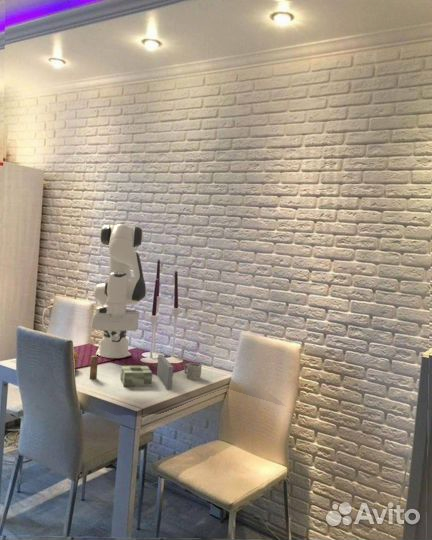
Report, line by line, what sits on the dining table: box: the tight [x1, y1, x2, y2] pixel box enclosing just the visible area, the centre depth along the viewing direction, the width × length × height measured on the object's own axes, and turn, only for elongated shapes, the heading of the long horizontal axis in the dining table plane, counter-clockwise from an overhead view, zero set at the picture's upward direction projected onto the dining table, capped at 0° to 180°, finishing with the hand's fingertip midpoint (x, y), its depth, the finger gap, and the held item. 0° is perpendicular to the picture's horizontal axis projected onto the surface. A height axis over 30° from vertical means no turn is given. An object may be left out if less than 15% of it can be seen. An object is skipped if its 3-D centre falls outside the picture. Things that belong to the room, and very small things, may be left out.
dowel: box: [89, 355, 99, 380], centre depth 217 cm, size 3×3×10 cm
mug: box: [183, 362, 202, 381], centre depth 232 cm, size 10×7×7 cm, turn 46°
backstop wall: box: [156, 354, 174, 391], centre depth 221 cm, size 22×2×10 cm, turn 19°
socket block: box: [119, 365, 153, 388], centre depth 217 cm, size 12×12×6 cm
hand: (113, 340), depth 212 cm, fingers closed
